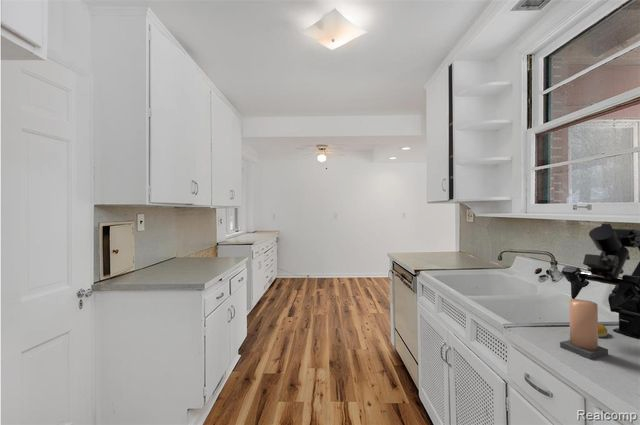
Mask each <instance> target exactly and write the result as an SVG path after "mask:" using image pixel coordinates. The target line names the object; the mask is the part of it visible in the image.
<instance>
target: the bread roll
mask: <svg viewBox="0 0 640 425" xmlns="http://www.w3.org/2000/svg"><path fill="white" fill-rule="evenodd" d="M608 334H609V333H608V328H607V327H606V326H605V325H603V324H601V323H599V322H598V338H603V337H607V336H608Z"/></svg>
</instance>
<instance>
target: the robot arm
mask: <svg viewBox="0 0 640 425" xmlns="http://www.w3.org/2000/svg"><path fill="white" fill-rule="evenodd" d="M588 235H589V237H590V239H591V241H592V242H593V244H594V246H595V247H596V249H597V250H599V251H600V255H599V254H590V253H585V255H584V258H583V262H582V264H583V266H587V269H586V270H587V271H588V272H590V273H588V272H583V271H582V269H581V268H580V267H576V266H569V265H567V266H566V265H565V266H564V267H562V270H561V271H560V272H561V274H562V275H563V276H564V278H565V279H566V280H567V282H569V283H570V298H571V299H577V297H578V295H579V293H580V292H581V290H582V289H583V288H584V285H583V284H584V283H585V282H586V281H591V282H598V283H602V284H606V285H612V286H614V288H613V289H612V290H611V293H609V295H608V304H609V310H610V312H611V313H617V314H618V327H615V328H613V329H612V331H613V332H616V333H620V334H622V335H625V336H629V337H632V338H635V339H640V260H639V262H638V263H637V265H636V266H635V268H634V269H633V271H632V273H631V274H624V269H623V267H624V266H625V263H626V261H629V260H631V256H630V251H629V249H628V248H633V249H634V248H637V249H638V251H639V252H640V227H639V228H613V225H612V224H611V223H601V225H600V226H597V227H594V228H592V229H591V230H589V232H588ZM620 274H621V275H622V276H621V278H619V276H620Z"/></svg>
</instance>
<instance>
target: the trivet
mask: <svg viewBox="0 0 640 425" xmlns="http://www.w3.org/2000/svg"><path fill="white" fill-rule="evenodd" d="M559 347H560V348H562V349H564V350H566V351H568V352H571V353H573V354H576V355H579V356H581V357H583V358H586V359H588V360H593V359H596V358H600V357H605V356H608V355H609V349H608V348H606V347H603V346H600V345H598V349H597V350H585V349H581V348H577V347H575V346H573V345H571V344H570V339H567V340H564V341H560V342H559Z"/></svg>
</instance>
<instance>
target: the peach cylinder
mask: <svg viewBox="0 0 640 425" xmlns="http://www.w3.org/2000/svg"><path fill="white" fill-rule="evenodd" d="M568 307H569V340H570V344H571V345H573V346H575V347H577V348H581V349H585V350H597V349H598V346H599V337H598V323H599V322H598V320H599V319H598V311H599V310H598V303H596V302H595V301H590V300H587V299H582V298H581V299H580V298H579V299H578V298H575V299H572V298H571V299H569V306H568Z"/></svg>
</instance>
